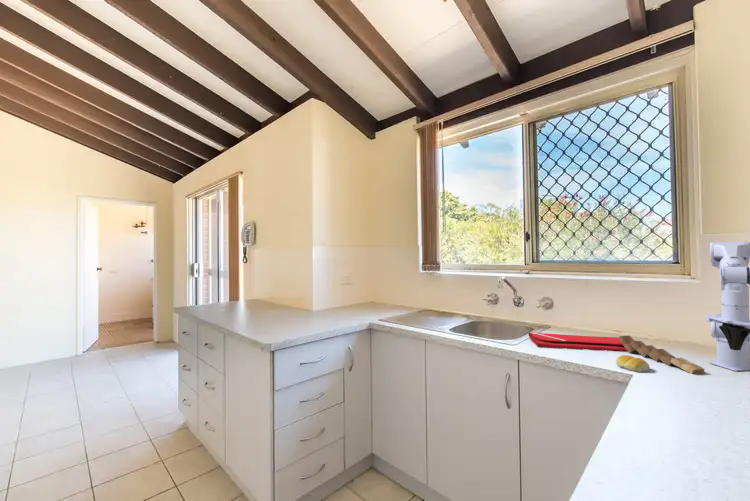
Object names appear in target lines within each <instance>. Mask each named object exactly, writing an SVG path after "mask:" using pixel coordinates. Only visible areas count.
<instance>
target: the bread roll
mask: <svg viewBox="0 0 750 501" xmlns="http://www.w3.org/2000/svg"><path fill="white" fill-rule="evenodd" d="M615 361H616V362H615V364H616V366H618V367H619V368H621V369H623V370H624V369H625V370H627V371H630V372H631V371H632V372H635V373H636V372H638V373H645V372H646V373H647V372H648V371H650V365H649V363H648V362H647V361H646V360H644V359H642V358H639V357H634V356H632V355H627V354H626V355H625V354H623V355H620V356H618V357H617V358H616V360H615Z"/></svg>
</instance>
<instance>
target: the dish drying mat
mask: <svg viewBox="0 0 750 501" xmlns="http://www.w3.org/2000/svg"><path fill="white" fill-rule="evenodd" d="M528 337H529V340H530V341H531V342H532V343H533V344H534V345H536V347H537V348H543V347H544V348H545V347H546V349H562V348H567V350H583V349H588V350H587V351H604V350H607V352H608V351H609V352H628V351H627V349H626V348H625V347H624V346H623V344H622V343H621V342H620V341H619V339H618V338H619V336H618V337H615V336H597V335H595V336H593V335H576V334H559V333H544V332H543V333H541V332H534V331H533V332H531V331H530V332H528ZM633 340H634V341H636V340H635V339H633Z"/></svg>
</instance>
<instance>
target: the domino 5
mask: <svg viewBox="0 0 750 501" xmlns="http://www.w3.org/2000/svg"><path fill="white" fill-rule="evenodd" d="M671 363H672V364H674V365H676V366H675V367H678V368H680V369H681V370H683V371H685V372H686V373H687V372H688V373H689V374H691V375H698V374H701V375H702V374H704V373H705V368H703V367H702V366H700V365H698V364H696V363H694V362H693V361H690V360H688V359H686V358H684V357H675V358H671Z"/></svg>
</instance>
